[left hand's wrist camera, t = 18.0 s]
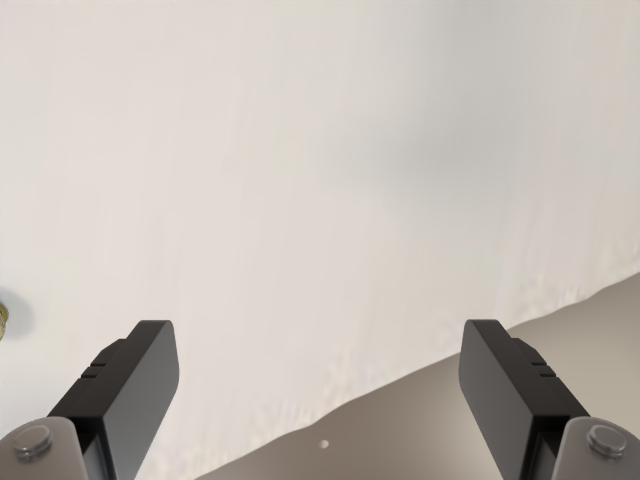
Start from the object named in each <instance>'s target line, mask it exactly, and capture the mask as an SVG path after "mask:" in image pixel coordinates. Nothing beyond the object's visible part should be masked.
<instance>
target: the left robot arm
mask: <svg viewBox="0 0 640 480" xmlns="http://www.w3.org/2000/svg"><path fill="white" fill-rule="evenodd" d="M178 382H179V363H178V356H177V349H176V342H175V335H174V328H173V324H172V322H171V321H170V320H141V321H140V322H139V323H138V324H137V325H136V326H135V328H134V329H133V330H132V332H131V333H130V334H129V335H128V337H127V338H126V339H118V340H117V341H115V342H114V343H112V344H111V345H109V346H108V347H106V348H105V349H103V350H102V351H101V352H100V353H99V354H98V356H97V357H96V358H95V359H94V360H93V362H92V363H91V364H90V367H88V368H87V369H86V370H85V371H84V372H83V374H82V375H81V378H78V380H77V381H76V382H75V383H74V384H73V386H72V387H71V388H70V389H69V390H68V392H67V393H66V394H65V395H64V396H63V398H62V399H61V400H60V401H59V402H58V404H57V405H56V406H55V407H54V408H53V410H52V411H51V412H50V413H49V414H48V415H47V417H45V418H41V419H37V420H34V421H31V422H29V423H26V424H24V425H22V426H20V427H18V428H16V429H15V430H13V431H12V432H10V433H9V434H7V435H6V436H5V437H4V438H2V439H1V440H0V480H134V479H135V477H136V475H137V473H138V471H139V468H140V466H141V464H142V462H143V460H144V458H145V456H146V454H147V452H148V450H149V447H150V445H151V443H152V441H153V439H154V437H155V435H156V433H157V431H158V428H159V426H160V424H161V422H162V420H163V418H164V416H165V414H166V412H167V410H168V407H169V405H170V403H171V401H172V399H173V397H174V395H175V393H176V390H177V387H178ZM459 382H460V386H461V390H462V392H463V394H464V396H465V398H466V401H467V403H468V405H469V407H470V409H471V411H472V413H473V416H474V418H475V420H476V422H477V424H478V426H479V428H480V431H481V433H482V435H483V437H484V439H485V441H486V443H487V445H488V448H489V450H490V452H491V454H492V456H493V458H494V460H495V462H496V465H497V467H498V469H499V471H500V473H501V475H502V477H503V479H504V480H640V440H639V439H637V438H636V437H635V436H634V435H632V434H631V433H630V432H628V431H627V430H625V429H624V428H622V427H620V426H618V425H616V424H614V423H611V422H609V421H606V420H603V419H599V418H595V417H591V416H590V415H589V414H588V412H587V411H586V410H585V409H584V408H583V406H582V405H581V404H580V403H579V402H578V400H577V399H576V398H575V397H574V396H573V394H572V393H571V392H570V391H569V389H568V388H567V387H566V386H565V385H564V383H563V382H562V381H561V380H560V379H559V377H556V374H555V372H554V371H553V370H552V369H551V368H550V366H547V363H546V362H545V360H544V359H543V358H542V357H541V356H540V354H539V353H538V352H537V351H536V350H535V349H534V348H532V347H531V346H529V345H528V344H526V343H525V342H523V341H522V340H520V339H519V338H511V337H510V335H509V334H508V333H507V332H506V330H505V329H504V328H503V326H502V325H501V324H500V322H499V321H498V320H467V321H466V323H465V326H464V333H463V340H462V347H461V354H460V362H459Z"/></svg>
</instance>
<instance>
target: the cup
mask: <svg viewBox="0 0 640 480" xmlns="http://www.w3.org/2000/svg"><path fill="white" fill-rule="evenodd" d="M7 320H8V311H7V309H6V307H5V306H4V305H2V304H1V303H0V341H1V339H2V337H3V335H4V332H5V323H6V322H7Z"/></svg>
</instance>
